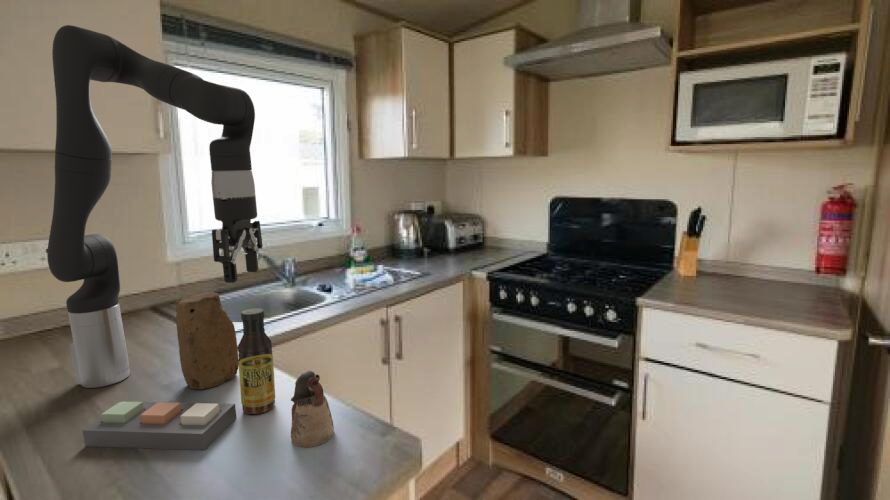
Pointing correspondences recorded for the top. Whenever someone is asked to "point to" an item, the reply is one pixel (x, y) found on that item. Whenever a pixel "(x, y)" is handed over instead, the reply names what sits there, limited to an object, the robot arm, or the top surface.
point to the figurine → (310, 412)
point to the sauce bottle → (255, 364)
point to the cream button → (200, 414)
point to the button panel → (160, 431)
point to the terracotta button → (161, 413)
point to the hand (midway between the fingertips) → (242, 276)
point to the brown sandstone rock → (205, 341)
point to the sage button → (122, 412)
